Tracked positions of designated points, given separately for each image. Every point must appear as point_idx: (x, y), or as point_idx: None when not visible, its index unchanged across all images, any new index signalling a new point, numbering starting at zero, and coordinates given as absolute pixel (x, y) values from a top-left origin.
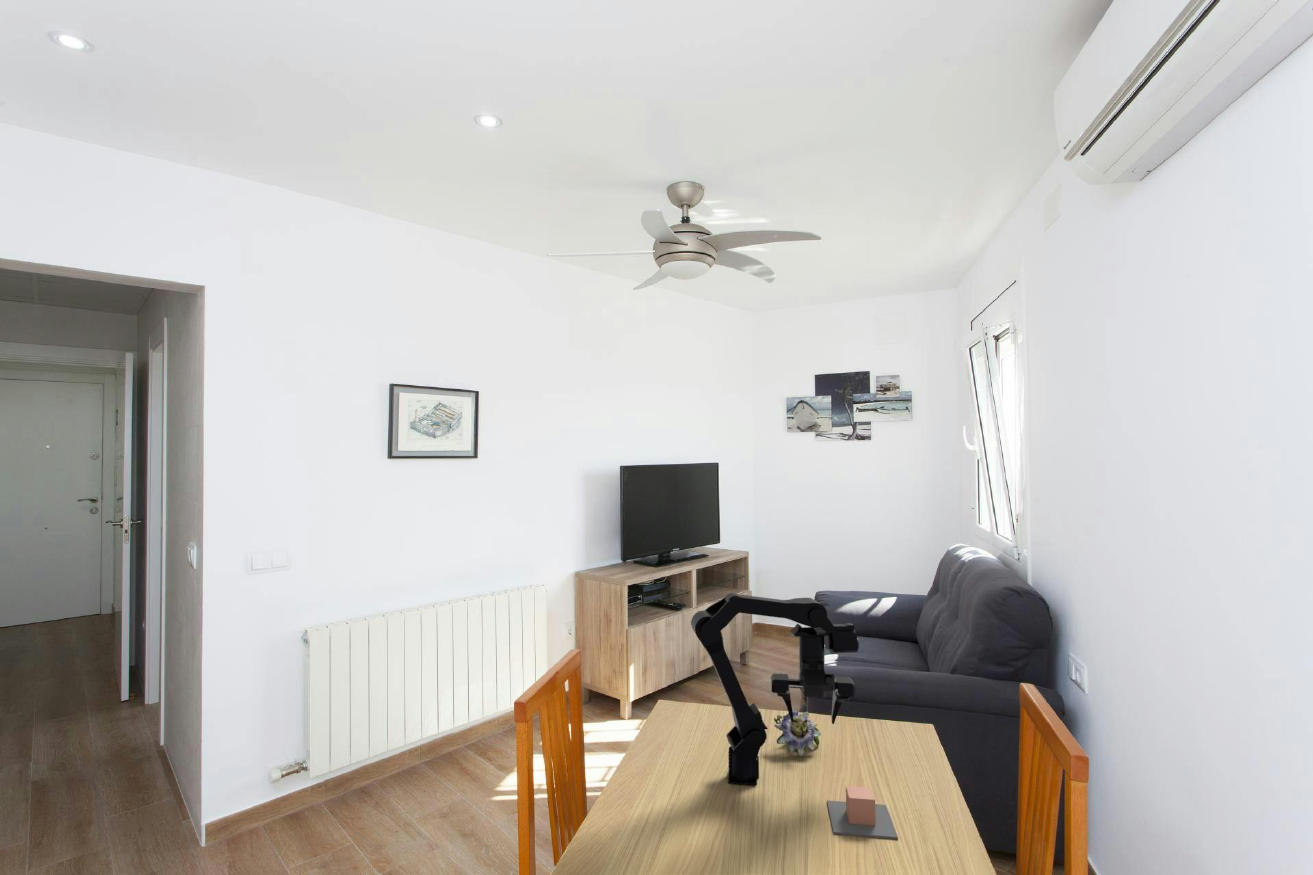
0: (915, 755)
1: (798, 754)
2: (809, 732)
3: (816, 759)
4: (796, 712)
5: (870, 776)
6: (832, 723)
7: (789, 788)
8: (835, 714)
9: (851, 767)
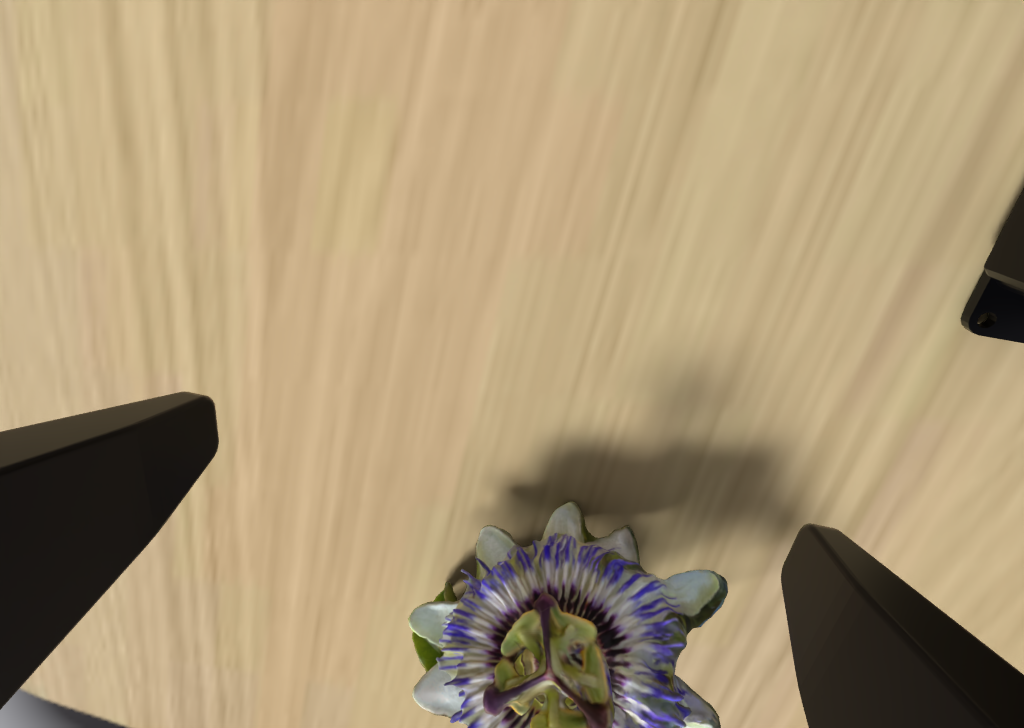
0: None
1: (580, 512)
2: (485, 621)
3: (487, 461)
4: None
5: (217, 251)
6: (202, 396)
7: (795, 71)
8: (5, 438)
9: (309, 361)
